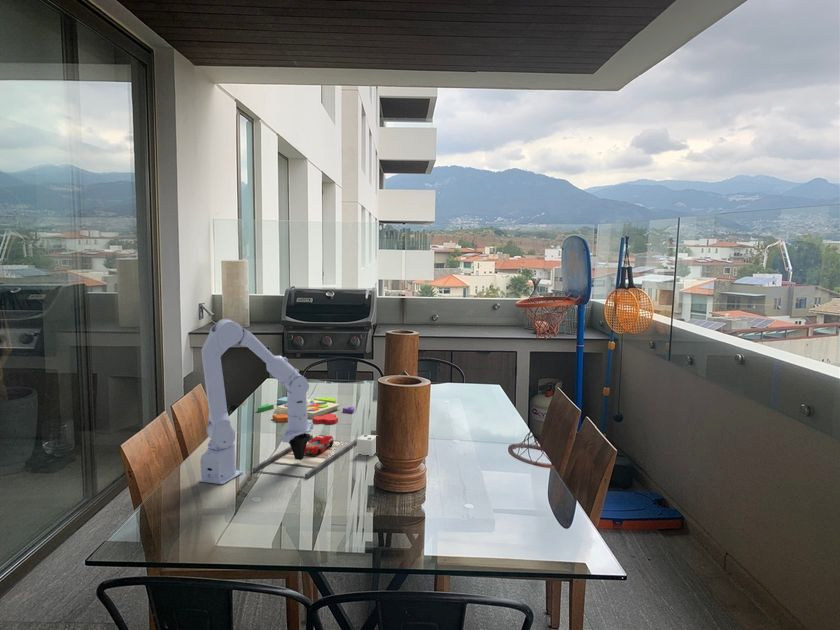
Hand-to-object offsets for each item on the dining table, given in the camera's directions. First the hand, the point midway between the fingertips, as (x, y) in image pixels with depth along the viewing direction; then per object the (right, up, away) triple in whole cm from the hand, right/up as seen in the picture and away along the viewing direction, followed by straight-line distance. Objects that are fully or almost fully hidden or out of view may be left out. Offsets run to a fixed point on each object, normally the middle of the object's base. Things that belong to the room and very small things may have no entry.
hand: (299, 459), depth 185 cm
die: (+20, 0, +8) cm, 21 cm away
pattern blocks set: (-8, +4, +60) cm, 61 cm away
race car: (+4, 0, +12) cm, 12 cm away
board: (+2, -1, +6) cm, 6 cm away
